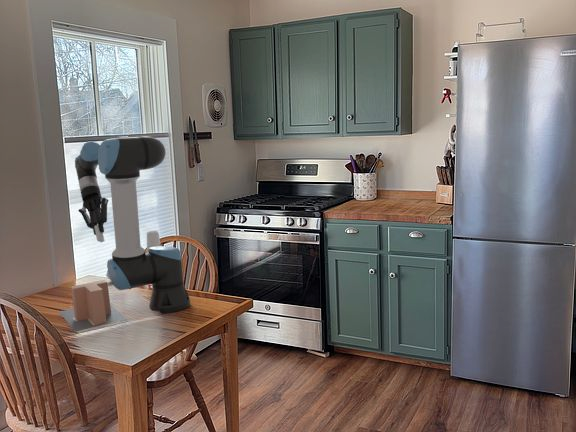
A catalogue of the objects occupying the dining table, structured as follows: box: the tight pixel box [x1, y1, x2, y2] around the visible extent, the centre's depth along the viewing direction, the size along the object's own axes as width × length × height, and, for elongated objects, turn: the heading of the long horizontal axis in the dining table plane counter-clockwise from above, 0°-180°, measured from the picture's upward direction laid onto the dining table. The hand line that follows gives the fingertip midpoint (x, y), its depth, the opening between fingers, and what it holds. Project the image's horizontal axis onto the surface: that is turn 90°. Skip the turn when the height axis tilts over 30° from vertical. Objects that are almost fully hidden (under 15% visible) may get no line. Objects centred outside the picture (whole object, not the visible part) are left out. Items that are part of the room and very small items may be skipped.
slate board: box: [58, 304, 128, 335], centre depth 212 cm, size 28×18×1 cm, turn 32°
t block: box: [70, 279, 111, 325], centre depth 206 cm, size 13×12×12 cm
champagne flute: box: [146, 230, 162, 289], centre depth 249 cm, size 7×7×24 cm
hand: (100, 240), depth 226 cm, fingers closed
